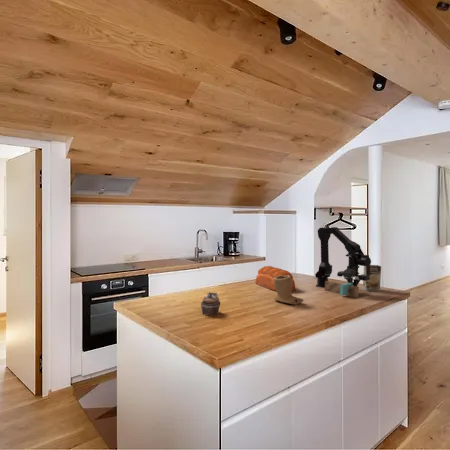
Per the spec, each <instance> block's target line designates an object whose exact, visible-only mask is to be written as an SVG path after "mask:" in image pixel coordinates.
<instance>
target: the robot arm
mask: <svg viewBox="0 0 450 450" xmlns="http://www.w3.org/2000/svg"><path fill="white" fill-rule="evenodd" d="M331 235H333V236H335V237H336V239H337V240H338V241H340V242H341V243H342V244H343V246H344V249H345V250H346V252H347V253H346V254H345V257H348V265H347V267H346V269H344V270H340V271H338V272H337V275H336V276H337V277H339V278H340V277H341V278H342V277H343V279H344V280H346V281H347V283H350V282H354V286H357V287H358V285H359V283H360V282H361V281H362V282H363V281H366V280H370V277H369V275H365V274H364V273H362V274H360V272H359V268H360V266H361V267H364V266H367V267H369V266H370V265H372V264H371V263H372V259H371V257H370V256H369V254H365V252H364V251H363V250H362V248H361V246H360V244H359V243H357V242H356V241H353V240H351V239H350V238H349V237H348V236H347V235H346V234H345V233H343V231H341V230H340V229H339V227H337V226H332V227H326V226H325V227H319V228H318V229H317V236H318V239H319V241H320V264H319V265H318V270H317V272H316V273H314V275H315V278H317V280H316V281H317V283H316V284H315V287H318V288H319V287H320V288H323V289H325V281H329V278H330V277H331V275H332V272H333V265H332V264H330V262H329V259H330V258H329V256H330V255H329V254H330V253H329V241H330V237H331Z"/></svg>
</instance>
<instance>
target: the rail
mask: <svg viewBox="0 0 450 450" xmlns="http://www.w3.org/2000/svg"><path fill="white" fill-rule="evenodd" d="M342 284H343V283H341V282H335V281H330V280H328V281H325V287H324V291H325V292H330V293H335V294H339V295H340V285H342ZM346 296H349V297H353V298H354V297H355V298H359V286H358V285H357V286H350V290H348V294H347V295H346Z"/></svg>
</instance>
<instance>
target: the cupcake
mask: <svg viewBox="0 0 450 450" xmlns="http://www.w3.org/2000/svg"><path fill="white" fill-rule="evenodd" d="M218 295H219V294H218V293H217V292H207V293H206V296H204V297H203V299H202V302H200V307H201V311H202V312H201V313H202V315H204V314H205V315H204V316H208V315H213V316H217V315H218V314H219V312H220V311H219V309H220V306H221V301H220V298H219V297H218ZM216 314H217V315H216Z"/></svg>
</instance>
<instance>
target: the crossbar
mask: <svg viewBox="0 0 450 450" xmlns="http://www.w3.org/2000/svg"><path fill="white" fill-rule="evenodd" d="M341 284H342V285H340V294H339V295H340V296H348V295H347V294H348V290H350V286H354V281H353V282H350V283H348V282H347V283H341Z"/></svg>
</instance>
